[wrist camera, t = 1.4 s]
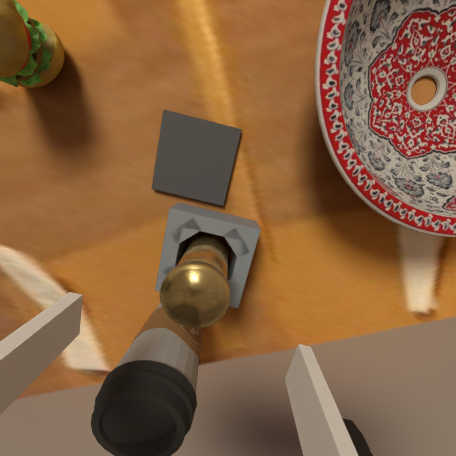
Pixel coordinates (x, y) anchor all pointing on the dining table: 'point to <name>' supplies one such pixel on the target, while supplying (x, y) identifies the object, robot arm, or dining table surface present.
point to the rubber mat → (195, 157)
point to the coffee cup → (150, 391)
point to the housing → (215, 224)
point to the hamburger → (27, 48)
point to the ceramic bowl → (391, 106)
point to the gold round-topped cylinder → (198, 283)
